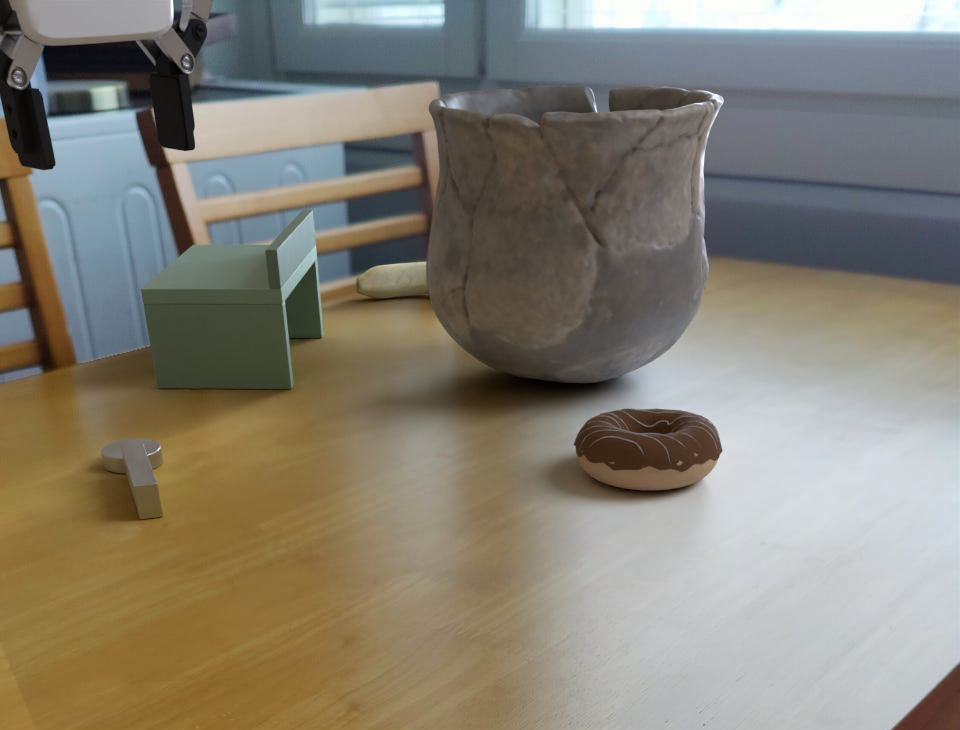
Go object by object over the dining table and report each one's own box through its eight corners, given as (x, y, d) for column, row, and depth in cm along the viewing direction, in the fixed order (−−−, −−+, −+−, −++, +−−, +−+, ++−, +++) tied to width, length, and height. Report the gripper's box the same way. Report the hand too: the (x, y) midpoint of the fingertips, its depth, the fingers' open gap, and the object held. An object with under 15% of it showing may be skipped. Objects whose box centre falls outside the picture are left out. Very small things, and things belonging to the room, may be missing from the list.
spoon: (183, 514, 84) (178, 480, 82) (119, 522, 83) (112, 488, 81) (159, 450, 94) (154, 419, 93) (101, 457, 93) (95, 426, 92)
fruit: (374, 288, 136) (372, 256, 134) (505, 293, 133) (505, 260, 131) (354, 304, 131) (352, 270, 129) (490, 310, 128) (490, 276, 126)
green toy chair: (157, 388, 107) (133, 249, 100) (205, 334, 121) (187, 209, 114) (291, 389, 106) (276, 249, 100) (323, 334, 121) (313, 209, 114)
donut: (622, 510, 83) (626, 453, 81) (547, 463, 91) (548, 409, 88) (748, 483, 87) (755, 427, 85) (666, 440, 95) (670, 388, 92)
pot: (596, 325, 122) (607, 74, 109) (757, 381, 106) (793, 96, 93) (380, 366, 112) (363, 94, 99) (523, 435, 96) (526, 122, 83)
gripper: (147, -203, 70) (193, 137, 81) (-149, -220, 61) (-53, 169, 71) (223, -213, 66) (262, 147, 76) (-83, -233, 56) (9, 182, 67)
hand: (110, 157), depth 74 cm, fingers open, 9 cm apart
